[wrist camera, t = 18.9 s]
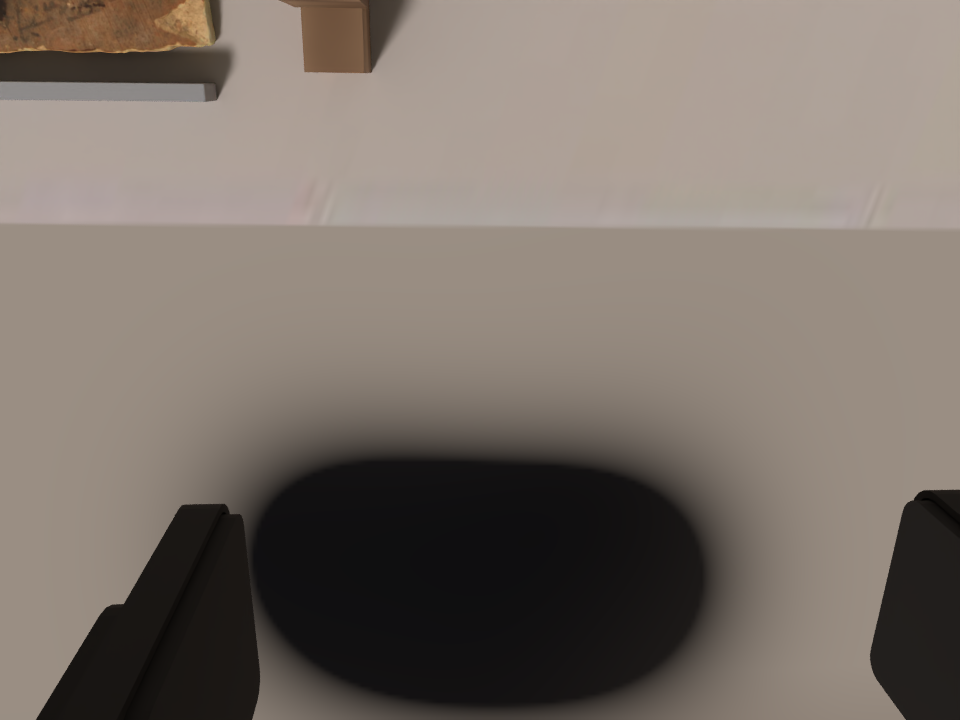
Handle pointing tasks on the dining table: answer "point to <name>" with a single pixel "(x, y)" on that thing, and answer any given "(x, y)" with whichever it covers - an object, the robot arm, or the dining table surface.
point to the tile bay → (107, 91)
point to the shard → (104, 25)
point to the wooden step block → (335, 35)
